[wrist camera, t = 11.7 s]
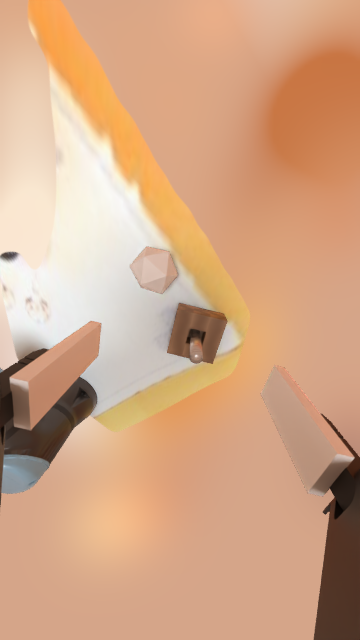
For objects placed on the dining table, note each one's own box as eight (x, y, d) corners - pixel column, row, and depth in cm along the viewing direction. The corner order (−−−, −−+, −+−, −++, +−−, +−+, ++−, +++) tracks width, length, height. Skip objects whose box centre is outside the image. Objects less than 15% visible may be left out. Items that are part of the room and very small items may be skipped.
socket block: (169, 343, 49) (166, 352, 45) (179, 302, 46) (177, 308, 41) (210, 353, 50) (212, 363, 45) (223, 313, 46) (227, 321, 41)
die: (142, 242, 42) (113, 266, 36) (176, 236, 37) (148, 263, 32) (158, 275, 47) (134, 301, 42) (189, 274, 43) (167, 303, 37)
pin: (189, 334, 47) (188, 361, 35) (191, 325, 46) (191, 350, 35) (198, 336, 47) (200, 364, 35) (201, 328, 46) (204, 353, 35)
